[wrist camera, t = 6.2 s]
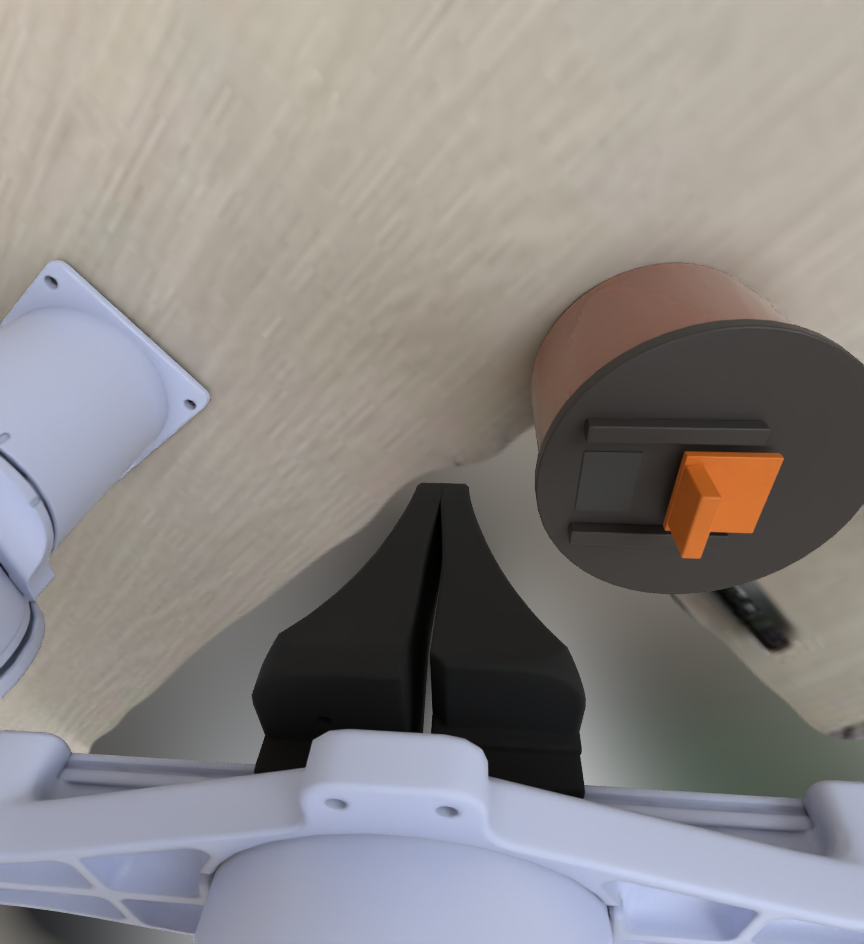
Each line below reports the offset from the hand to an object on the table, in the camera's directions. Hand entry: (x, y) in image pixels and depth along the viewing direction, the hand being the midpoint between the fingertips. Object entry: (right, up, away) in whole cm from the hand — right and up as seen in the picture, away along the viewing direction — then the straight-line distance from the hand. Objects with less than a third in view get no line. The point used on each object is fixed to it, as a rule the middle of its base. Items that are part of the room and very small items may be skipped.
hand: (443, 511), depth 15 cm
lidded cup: (+9, +5, +8) cm, 13 cm away
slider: (+9, 0, +2) cm, 9 cm away
